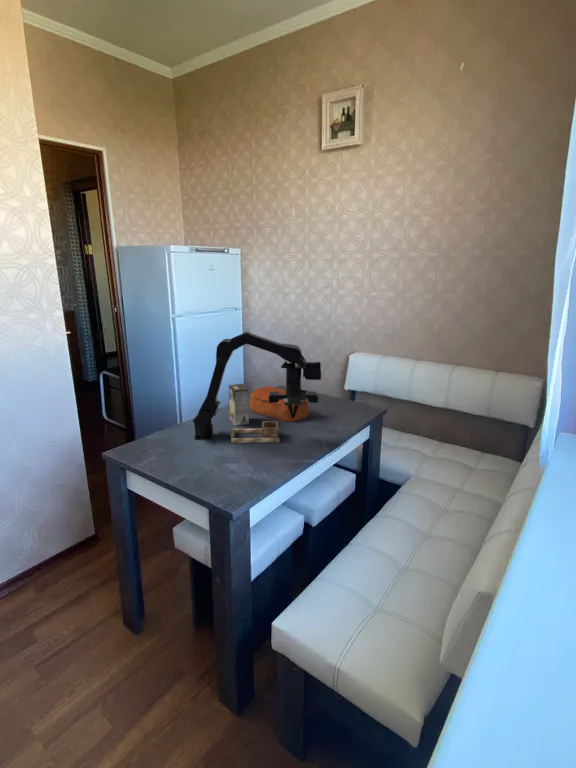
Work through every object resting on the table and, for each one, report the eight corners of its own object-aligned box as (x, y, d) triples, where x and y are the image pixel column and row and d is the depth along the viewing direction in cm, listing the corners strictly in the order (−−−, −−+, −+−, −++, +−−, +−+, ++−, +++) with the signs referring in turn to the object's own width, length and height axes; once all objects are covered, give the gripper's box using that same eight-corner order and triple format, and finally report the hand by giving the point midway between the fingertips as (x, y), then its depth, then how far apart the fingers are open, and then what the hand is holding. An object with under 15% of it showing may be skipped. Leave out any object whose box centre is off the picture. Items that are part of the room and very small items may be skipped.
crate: (262, 440, 161) (261, 428, 160) (262, 433, 168) (262, 421, 167) (277, 440, 162) (277, 428, 160) (277, 433, 168) (277, 421, 167)
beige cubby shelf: (230, 445, 159) (229, 438, 158) (232, 432, 170) (232, 426, 169) (283, 444, 160) (283, 437, 159) (282, 432, 171) (282, 425, 170)
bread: (269, 403, 207) (269, 382, 204) (312, 416, 190) (312, 393, 187) (245, 411, 196) (245, 389, 193) (289, 425, 179) (289, 401, 176)
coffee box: (229, 420, 184) (228, 384, 179) (243, 418, 186) (242, 383, 181) (234, 427, 176) (233, 390, 171) (249, 425, 178) (248, 389, 173)
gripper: (268, 385, 151) (268, 426, 155) (320, 385, 151) (319, 425, 156) (268, 377, 161) (268, 415, 166) (317, 377, 162) (316, 415, 167)
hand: (292, 418), depth 163 cm, fingers closed
